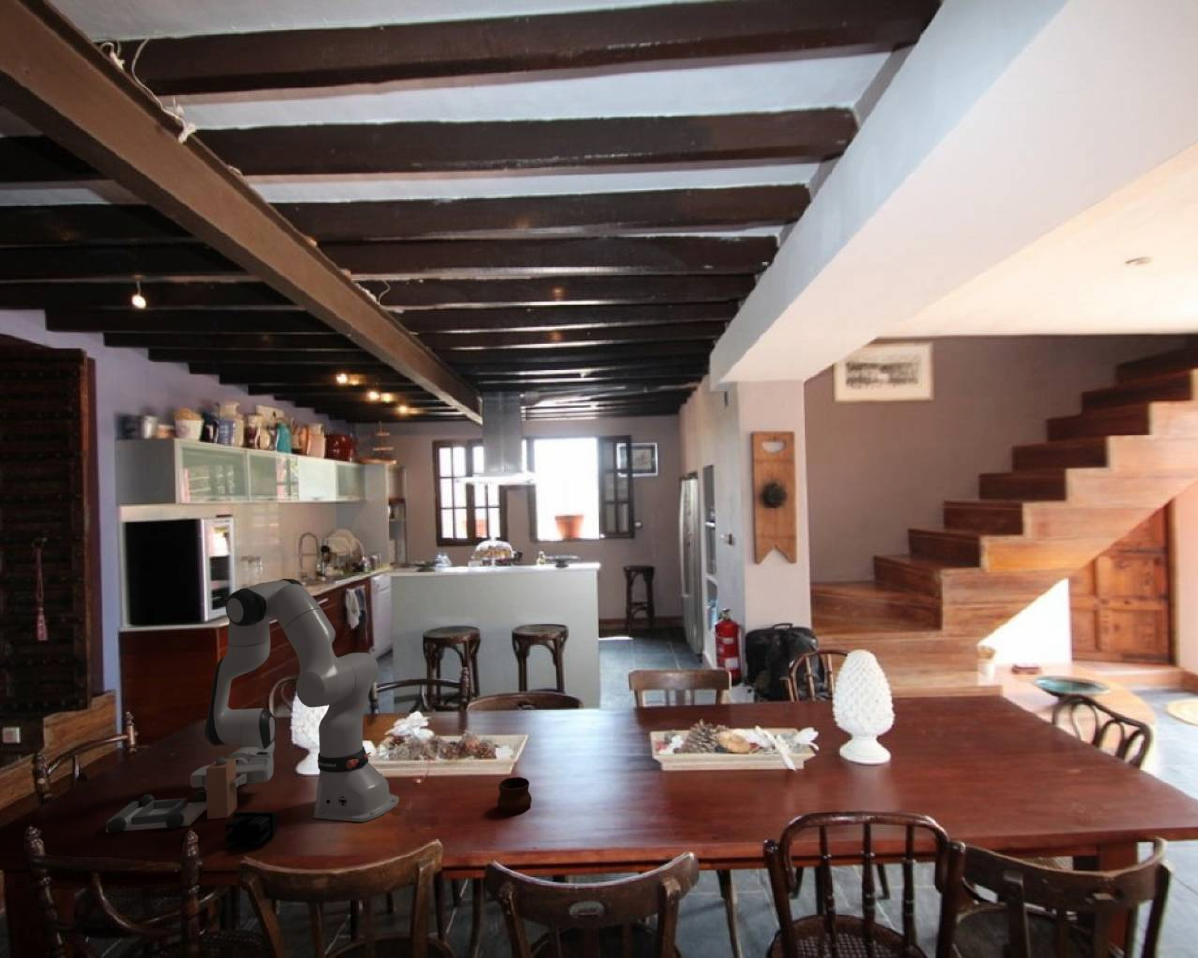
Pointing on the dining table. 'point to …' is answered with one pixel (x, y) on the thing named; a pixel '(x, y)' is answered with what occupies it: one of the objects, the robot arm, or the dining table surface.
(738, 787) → the dining table surface
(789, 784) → the dining table surface
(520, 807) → the ceramic pot
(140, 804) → the chassis
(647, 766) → the dining table surface
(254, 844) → the end cap
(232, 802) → the tall wooden block
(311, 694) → the robot arm
